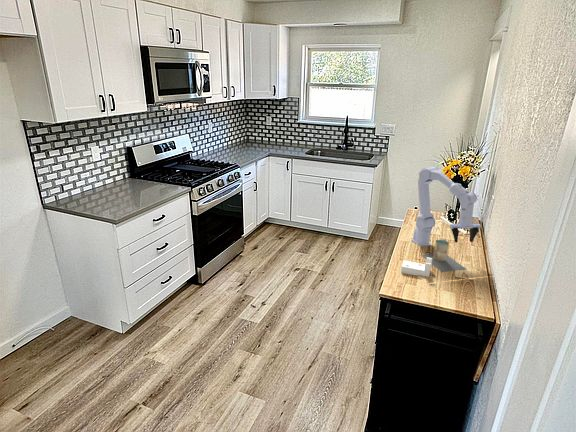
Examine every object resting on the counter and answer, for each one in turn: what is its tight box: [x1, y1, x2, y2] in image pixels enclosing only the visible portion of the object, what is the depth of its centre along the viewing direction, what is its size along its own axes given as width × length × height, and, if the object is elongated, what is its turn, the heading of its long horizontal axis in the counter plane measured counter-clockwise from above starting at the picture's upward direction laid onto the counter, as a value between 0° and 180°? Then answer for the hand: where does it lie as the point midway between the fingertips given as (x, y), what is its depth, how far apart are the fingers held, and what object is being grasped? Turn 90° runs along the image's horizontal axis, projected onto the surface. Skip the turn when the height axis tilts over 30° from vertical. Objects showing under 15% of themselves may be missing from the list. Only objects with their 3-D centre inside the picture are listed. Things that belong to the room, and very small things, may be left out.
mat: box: [420, 253, 467, 273], centre depth 191 cm, size 19×14×1 cm
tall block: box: [433, 239, 450, 261], centre depth 192 cm, size 4×4×10 cm
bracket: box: [400, 257, 432, 278], centre depth 181 cm, size 13×7×8 cm, turn 66°
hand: (463, 241), depth 190 cm, fingers open, 7 cm apart
